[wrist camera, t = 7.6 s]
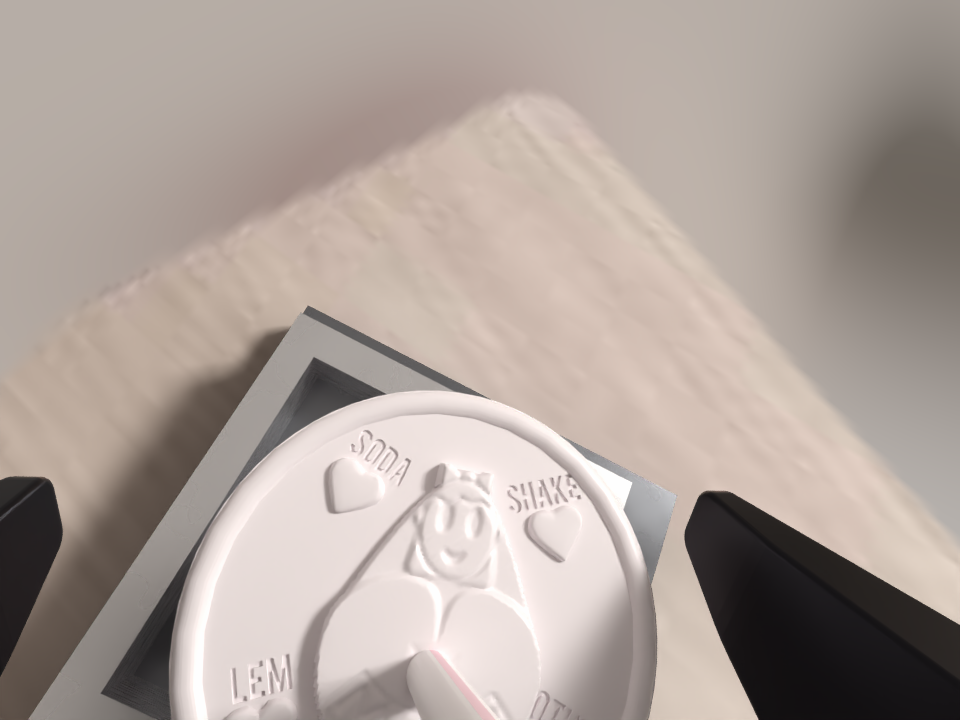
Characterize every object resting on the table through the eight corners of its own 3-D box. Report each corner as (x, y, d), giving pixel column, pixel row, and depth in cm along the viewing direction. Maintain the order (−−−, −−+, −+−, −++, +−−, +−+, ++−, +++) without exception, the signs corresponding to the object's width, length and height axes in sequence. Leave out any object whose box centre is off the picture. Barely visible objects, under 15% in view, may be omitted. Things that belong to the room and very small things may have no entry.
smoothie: (240, 689, 14) (-745, 1907, 1) (311, 450, 17) (167, 110, 4) (476, 726, 15) (1149, 1692, 2) (512, 494, 18) (955, 339, 5)
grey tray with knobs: (423, 1247, 13) (447, 1478, 10) (-138, 1008, 12) (-313, 1172, 9) (654, 499, 20) (712, 489, 17) (311, 322, 20) (303, 277, 16)
